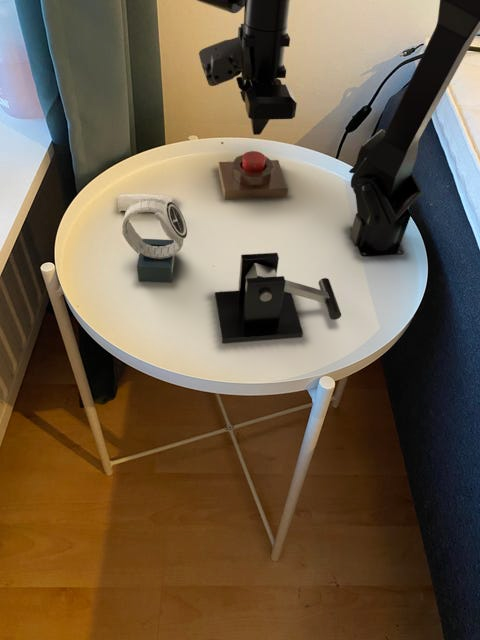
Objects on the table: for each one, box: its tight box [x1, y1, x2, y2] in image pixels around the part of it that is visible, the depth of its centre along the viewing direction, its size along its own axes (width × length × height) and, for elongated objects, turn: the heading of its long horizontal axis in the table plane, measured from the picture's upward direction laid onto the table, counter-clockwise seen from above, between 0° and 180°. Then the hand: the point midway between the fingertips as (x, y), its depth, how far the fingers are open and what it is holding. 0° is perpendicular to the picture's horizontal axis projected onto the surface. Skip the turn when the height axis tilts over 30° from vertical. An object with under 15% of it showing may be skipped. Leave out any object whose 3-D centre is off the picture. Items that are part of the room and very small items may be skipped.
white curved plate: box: [117, 193, 173, 213], centre depth 83 cm, size 4×8×3 cm, turn 90°
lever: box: [245, 263, 342, 321], centre depth 67 cm, size 12×6×2 cm, turn 98°
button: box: [242, 150, 266, 173], centre depth 86 cm, size 4×4×2 cm
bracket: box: [214, 252, 304, 344], centre depth 67 cm, size 10×8×9 cm
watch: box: [121, 198, 188, 284], centre depth 71 cm, size 6×8×11 cm
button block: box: [218, 154, 289, 200], centre depth 88 cm, size 10×8×4 cm
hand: (256, 133), depth 83 cm, fingers closed
